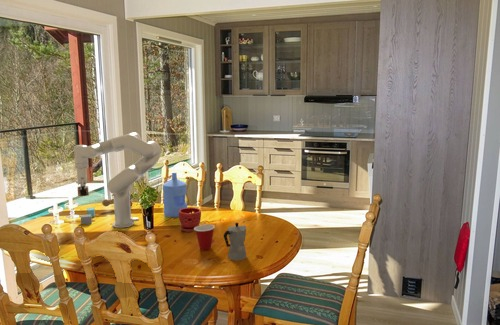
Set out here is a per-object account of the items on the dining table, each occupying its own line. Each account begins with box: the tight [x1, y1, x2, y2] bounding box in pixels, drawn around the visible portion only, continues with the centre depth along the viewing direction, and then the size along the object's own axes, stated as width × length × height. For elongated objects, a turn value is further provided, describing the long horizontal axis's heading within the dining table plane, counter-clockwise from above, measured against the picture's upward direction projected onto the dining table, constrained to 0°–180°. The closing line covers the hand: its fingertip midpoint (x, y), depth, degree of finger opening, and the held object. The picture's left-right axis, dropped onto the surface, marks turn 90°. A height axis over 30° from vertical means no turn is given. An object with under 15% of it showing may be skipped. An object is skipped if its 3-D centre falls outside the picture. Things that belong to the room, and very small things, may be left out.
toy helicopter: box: [102, 193, 133, 208], centre depth 289 cm, size 8×21×14 cm, turn 133°
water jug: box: [162, 172, 188, 218], centre depth 274 cm, size 16×16×28 cm
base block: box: [80, 214, 93, 225], centre depth 259 cm, size 6×4×5 cm
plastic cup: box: [194, 224, 216, 251], centre depth 217 cm, size 11×11×12 cm
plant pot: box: [178, 207, 202, 233], centre depth 246 cm, size 13×13×12 cm
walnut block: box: [77, 185, 89, 197], centre depth 253 cm, size 6×4×5 cm
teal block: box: [86, 207, 96, 218], centre depth 274 cm, size 4×6×5 cm
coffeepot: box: [223, 222, 247, 262], centre depth 204 cm, size 15×9×18 cm, turn 137°
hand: (83, 194), depth 253 cm, fingers closed on walnut block, 4 cm apart
